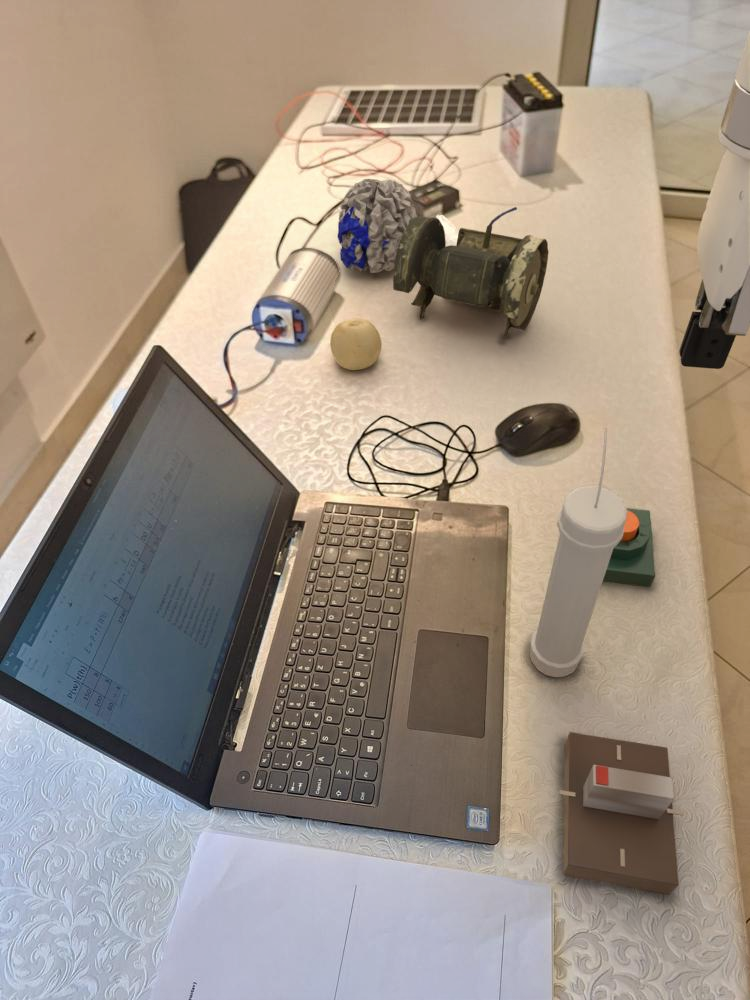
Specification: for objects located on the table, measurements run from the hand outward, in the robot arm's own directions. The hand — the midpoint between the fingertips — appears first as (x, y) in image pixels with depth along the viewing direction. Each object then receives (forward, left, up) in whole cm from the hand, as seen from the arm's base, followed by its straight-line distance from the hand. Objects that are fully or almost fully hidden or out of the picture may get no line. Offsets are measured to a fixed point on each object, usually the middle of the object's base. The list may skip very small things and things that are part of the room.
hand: (700, 361), depth 58 cm
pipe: (-4, +9, -34) cm, 35 cm away
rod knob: (-21, +11, -31) cm, 39 cm away
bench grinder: (+59, -6, -34) cm, 68 cm away
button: (+7, -4, -30) cm, 31 cm away
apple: (+53, +16, -34) cm, 65 cm away
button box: (+7, -4, -34) cm, 35 cm away
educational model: (+83, +4, -34) cm, 90 cm away
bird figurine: (+80, -9, -34) cm, 87 cm away
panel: (-21, +11, -34) cm, 41 cm away
